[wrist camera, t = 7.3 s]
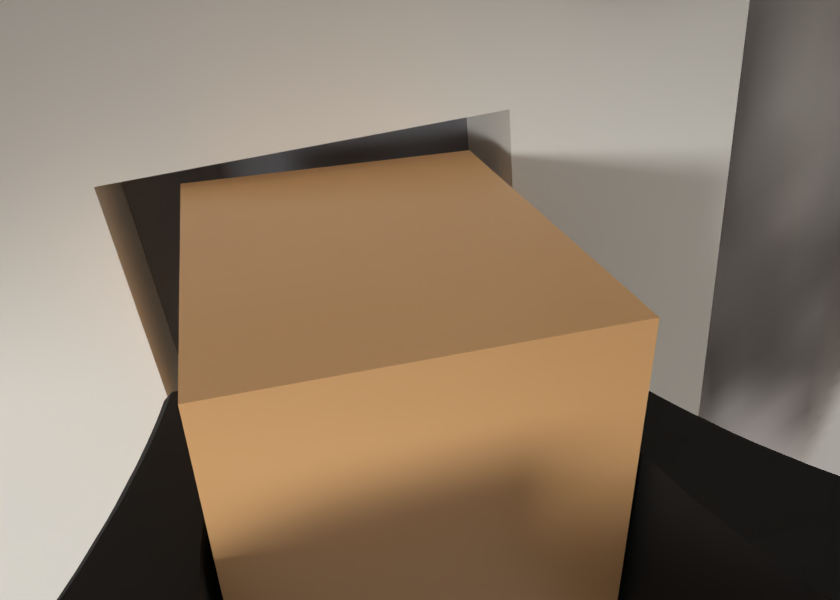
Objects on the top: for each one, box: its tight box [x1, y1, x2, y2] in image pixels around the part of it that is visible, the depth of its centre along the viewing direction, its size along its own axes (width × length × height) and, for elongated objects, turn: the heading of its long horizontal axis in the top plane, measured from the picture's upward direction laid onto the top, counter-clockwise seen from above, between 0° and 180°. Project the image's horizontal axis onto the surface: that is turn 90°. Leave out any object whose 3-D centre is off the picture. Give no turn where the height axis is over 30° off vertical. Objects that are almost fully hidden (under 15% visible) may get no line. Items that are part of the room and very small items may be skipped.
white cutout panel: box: [0, 0, 750, 600], centre depth 12 cm, size 13×16×3 cm
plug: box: [178, 150, 660, 600], centre depth 10 cm, size 4×6×6 cm
